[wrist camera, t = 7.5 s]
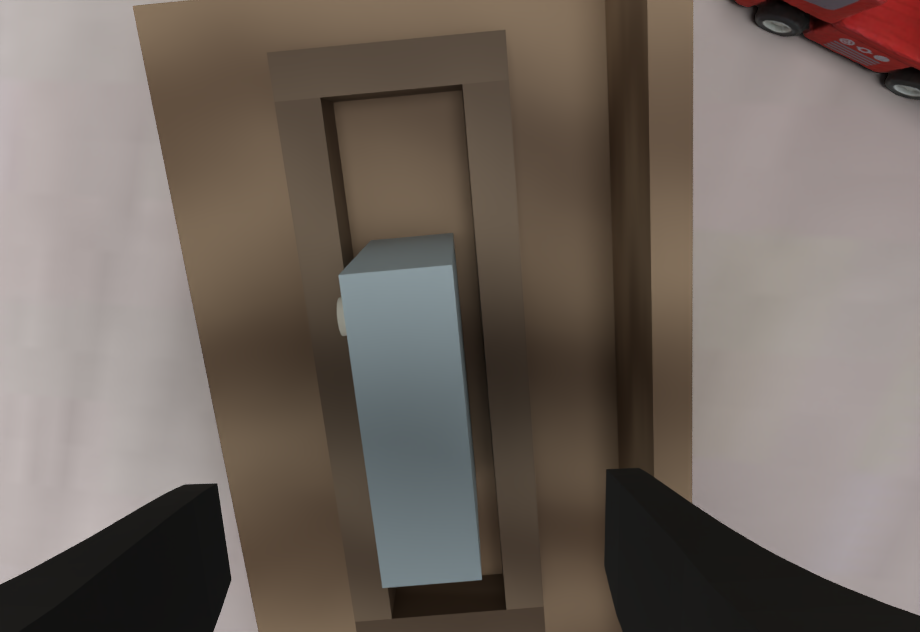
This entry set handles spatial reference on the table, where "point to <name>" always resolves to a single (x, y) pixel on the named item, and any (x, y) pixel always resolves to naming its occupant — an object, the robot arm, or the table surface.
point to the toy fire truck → (855, 33)
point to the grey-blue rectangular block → (413, 407)
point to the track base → (478, 271)
